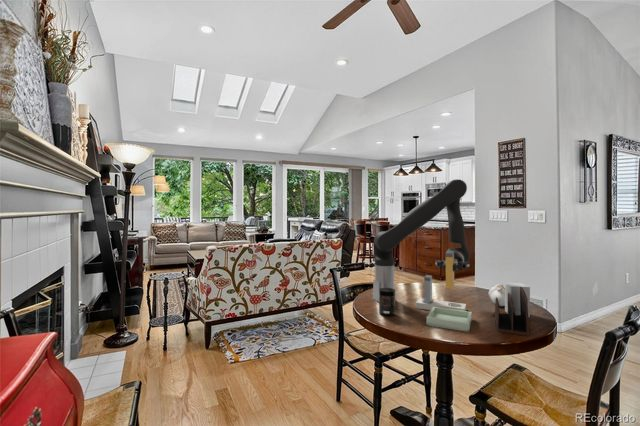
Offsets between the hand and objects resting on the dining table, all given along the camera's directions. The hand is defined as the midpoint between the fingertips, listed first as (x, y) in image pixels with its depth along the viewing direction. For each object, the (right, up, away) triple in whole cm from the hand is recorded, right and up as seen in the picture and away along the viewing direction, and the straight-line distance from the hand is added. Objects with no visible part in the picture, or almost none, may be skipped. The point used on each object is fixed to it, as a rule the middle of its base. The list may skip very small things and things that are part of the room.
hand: (449, 267), depth 129 cm
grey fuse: (-1, -21, +22) cm, 31 cm away
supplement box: (+33, -22, +12) cm, 42 cm away
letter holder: (+24, -22, 0) cm, 33 cm away
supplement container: (-21, -22, +13) cm, 33 cm away
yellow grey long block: (+1, -8, +3) cm, 8 cm away
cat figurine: (+34, -21, +27) cm, 49 cm away
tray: (+1, -22, +3) cm, 22 cm away
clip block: (+4, -21, +20) cm, 30 cm away
